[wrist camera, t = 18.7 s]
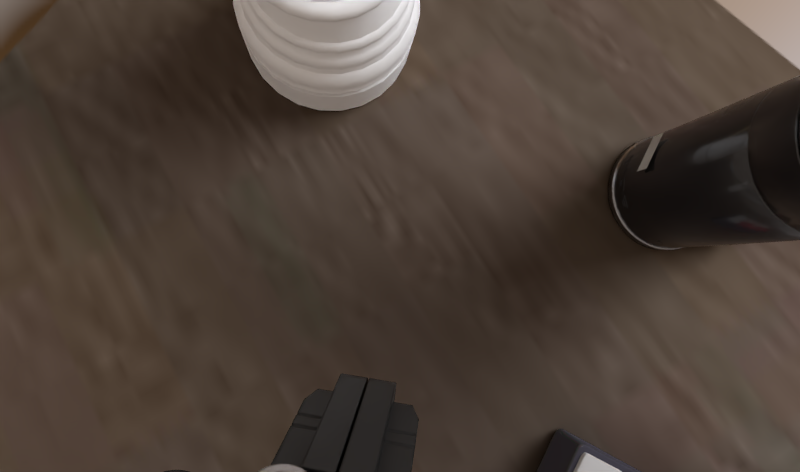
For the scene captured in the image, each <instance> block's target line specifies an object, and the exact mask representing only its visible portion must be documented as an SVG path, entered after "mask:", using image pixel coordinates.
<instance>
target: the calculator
mask: <svg viewBox="0 0 800 472" xmlns="http://www.w3.org/2000/svg"><path fill="white" fill-rule="evenodd" d="M537 472H641V471H639V470H637V469H635V468H634V467H632V466H630V465H628V464H626V463H624V462H622V461H620V460H619V459H617V458H615V457H613V456H611V455H609V454H608V453H606V452H604V451H602V450H601V449H599V448H597V447H595V446H593V445H591V444H590V443H588V442H586V441H584V440H582V439H580V438H578V437H577V436H575V435H573V434H571V433H569V432H567V431H565V430H563V429H558V430H557V431H556V432H555V434H554V436H553V438H552V440H551V442H550V444H549V446H548V449H547V451H546V453H545V455H544V457H543V459H542V461H541V463H540V465H539V467H538V470H537Z"/></svg>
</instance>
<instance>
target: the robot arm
mask: <svg viewBox="0 0 800 472" xmlns="http://www.w3.org/2000/svg"><path fill="white" fill-rule="evenodd" d="M608 191H609V202H610V206H611V209H612V212H613V215H614V217H615V219H616V221H617V223H618V224H619V226H620V227H621V228H622V230H623V231H624V232H625V233H626V234H627V235H628V236H629V237H630V238H632V239H633V240H634V241H636V242H637V243H639V244H641V245H643V246H646V247H649V248H652V249H657V250H673V249H680V248H684V247H703V246H718V245H733V244H748V243H763V242H778V241H793V240H800V76H797V77H795V78H793V79H790V80H788V81H786V82H783V83H781V84H779V85H777V86H774V87H772V88H769V89H767V90H765V91H762V92H760V93H757V94H755V95H753V96H750V97H748V98H746V99H743V100H741V101H738V102H736V103H734V104H731V105H729V106H726V107H724V108H722V109H719V110H717V111H714V112H712V113H710V114H707V115H705V116H702V117H700V118H698V119H695V120H693V121H690V122H688V123H686V124H683V125H681V126H678V127H676V128H674V129H671V130H668V131H666V132H663V133H661V134H658V135H656V136H654V137H650V138H646V139H644V140H642V141H639V142H637V143H635V144H633V145H632V146H630V147H629V148H628V149H627V150H625V151H624V152H623V153H622V155H621V156H620V157H619V158H618V160H617V161H616V163H615V165H614V167H613V169H612V172H611V176H610V180H609V190H608ZM395 391H396V383H395V382H389V381H383V380H377V379H372V378H370V379H369V381H368V378H365V377H359V376H354V375H348V374H341V375H340V377H339V379H338V381H337V384H336V386H335V388H334V390H333V391H327V390H322V389H317V390H316V391H315V392H313V393H312V394H311V395H309V396H308V397H307V398H305V399H304V401H303V403H302V405H301V407H300V409H299V411H298V414H297V415H296V417H295V419H294V421H293V423H292V426H290V428H289V430H288V432H287V434H286V436H285V438H284V440H283V442H282V444H281V446H280V448H279V450H278V452H277V454H276V456H275V458H274V459H273V461H272V463H271V465H270V466H267V467H265V468H263V469H261V470H259V471H258V472H411V471H412V464H413V456H414V449H415V442H416V435H417V428H418V421H419V419H418V417H417V414H416V412H415V410H414V408H413V405H407V404H401V403H396V402H394V399H395ZM165 472H189V471H185V470H170V471H165Z"/></svg>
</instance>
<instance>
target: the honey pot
mask: <svg viewBox="0 0 800 472" xmlns="http://www.w3.org/2000/svg"><path fill="white" fill-rule="evenodd" d="M233 7H234V11H235V14H236V18H237V21H238V25H239V29H240V31H241V33H242V36H243V39H244V42H245V44H246V47H247V49H248V52H249V54H250V57H251V59H252V61H253V63H254V64H255V66H256V68H257V69H258V71H259V73H260V74H261V76H262V78H263V79H264V80H265V81H266V82H267V83H268V84H269V85H270V86H271V87H273V88H274V89H275V90H276V91H277V92H278V93H279V94H281V95H282V96H284V97H286V98H287V99H289V100H291V101H293V102H294V103H296V104H298V105H302V106H305V107H309V108H312V109H316V110H322V111H343V110H347V109H351V108H355V107H359V106H363V105H364V104H366V103H368V102H370V101H372V100H374V99H375V98H377V97H379V96H381V95H382V94H383V93H384V92H385V91H386V90H387V89H388V88H389V87H390V86H391V85H392V84H393V83H394V82H395V80H396V79H397V77H398V75H399V74H400V72H401V70H402V68H403V67H404V65H405V63H406V60H407V57H408V54H409V51H410V48H411V44H412V42H413V38H414V36H415V32H416V28H417V24H418V20H419V16H420V0H233Z"/></svg>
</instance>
